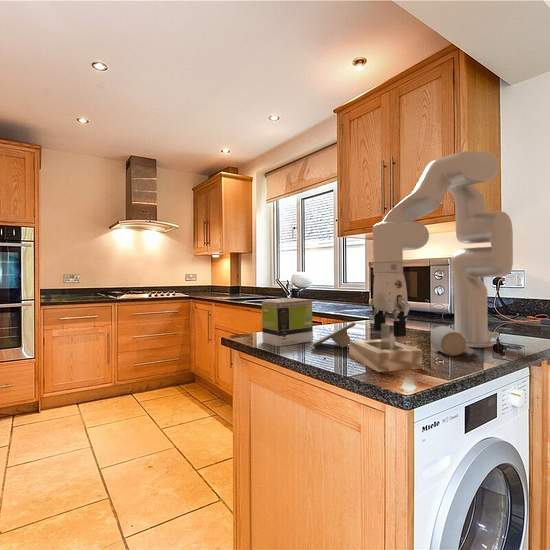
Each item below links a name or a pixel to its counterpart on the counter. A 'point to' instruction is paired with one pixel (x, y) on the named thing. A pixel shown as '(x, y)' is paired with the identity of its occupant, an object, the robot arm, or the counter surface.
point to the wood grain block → (387, 337)
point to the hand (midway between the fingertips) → (389, 333)
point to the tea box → (287, 321)
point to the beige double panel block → (337, 336)
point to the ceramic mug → (449, 341)
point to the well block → (385, 356)
